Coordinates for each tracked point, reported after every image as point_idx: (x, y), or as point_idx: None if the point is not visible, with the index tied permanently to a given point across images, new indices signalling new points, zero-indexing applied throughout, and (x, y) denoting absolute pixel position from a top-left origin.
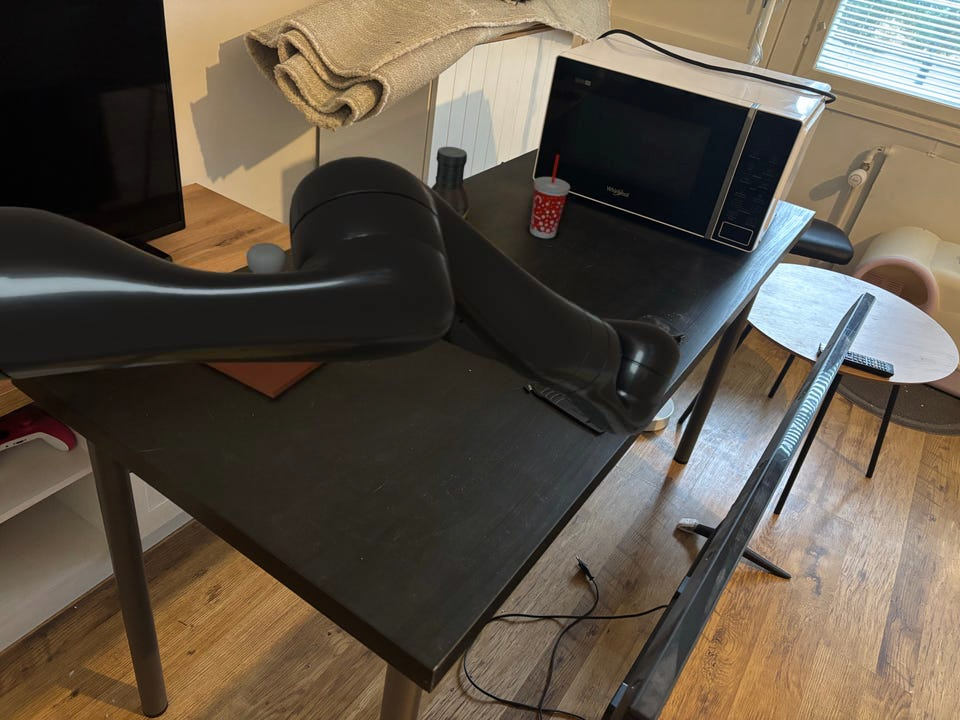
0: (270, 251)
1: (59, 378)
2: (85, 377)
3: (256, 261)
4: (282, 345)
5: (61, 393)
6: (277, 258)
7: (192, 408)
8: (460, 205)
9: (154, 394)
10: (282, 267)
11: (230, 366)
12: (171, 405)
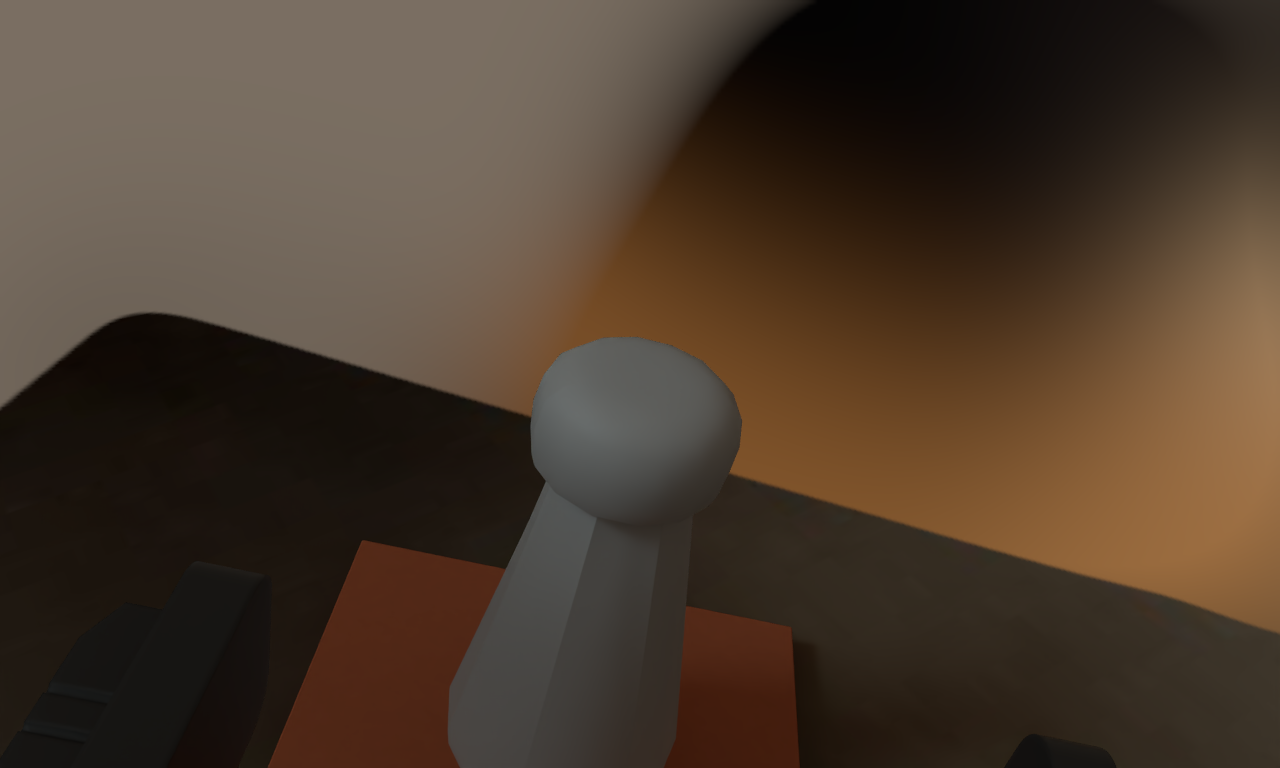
0: (635, 398)
1: (89, 377)
2: (114, 418)
3: (540, 395)
4: None
5: (11, 406)
6: (623, 449)
7: (10, 739)
8: None
9: (73, 595)
10: (637, 513)
11: (306, 724)
12: (14, 668)
